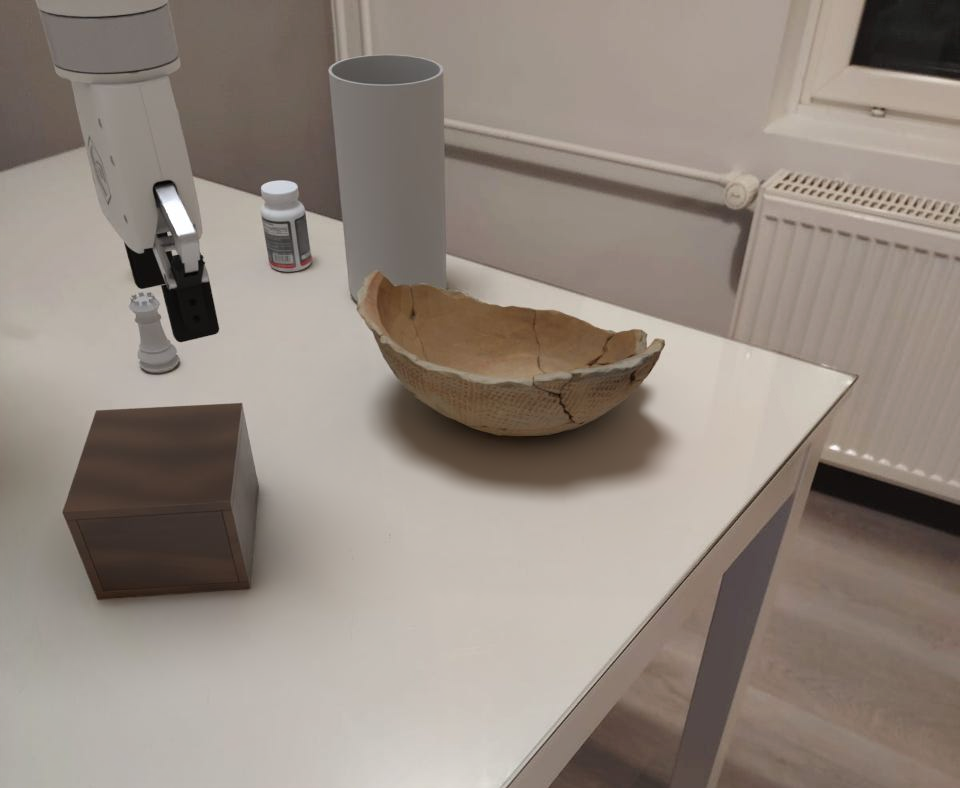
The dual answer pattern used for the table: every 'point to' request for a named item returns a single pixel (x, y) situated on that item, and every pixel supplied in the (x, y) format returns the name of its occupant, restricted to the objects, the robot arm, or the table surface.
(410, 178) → the cylinder vase
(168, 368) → the rook chess piece
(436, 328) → the ceramic bowl
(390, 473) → the table surface
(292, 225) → the pill bottle
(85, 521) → the cabinet
